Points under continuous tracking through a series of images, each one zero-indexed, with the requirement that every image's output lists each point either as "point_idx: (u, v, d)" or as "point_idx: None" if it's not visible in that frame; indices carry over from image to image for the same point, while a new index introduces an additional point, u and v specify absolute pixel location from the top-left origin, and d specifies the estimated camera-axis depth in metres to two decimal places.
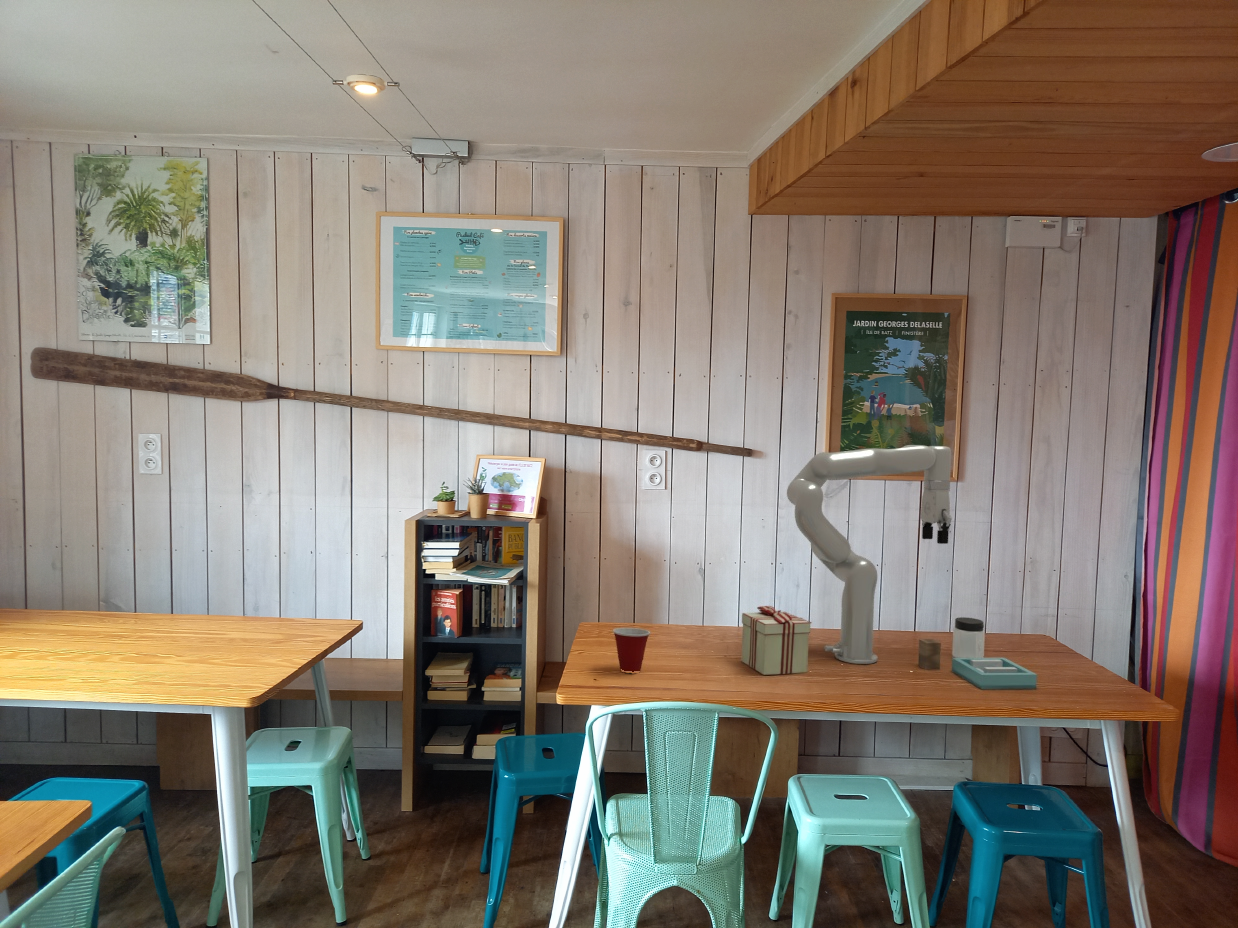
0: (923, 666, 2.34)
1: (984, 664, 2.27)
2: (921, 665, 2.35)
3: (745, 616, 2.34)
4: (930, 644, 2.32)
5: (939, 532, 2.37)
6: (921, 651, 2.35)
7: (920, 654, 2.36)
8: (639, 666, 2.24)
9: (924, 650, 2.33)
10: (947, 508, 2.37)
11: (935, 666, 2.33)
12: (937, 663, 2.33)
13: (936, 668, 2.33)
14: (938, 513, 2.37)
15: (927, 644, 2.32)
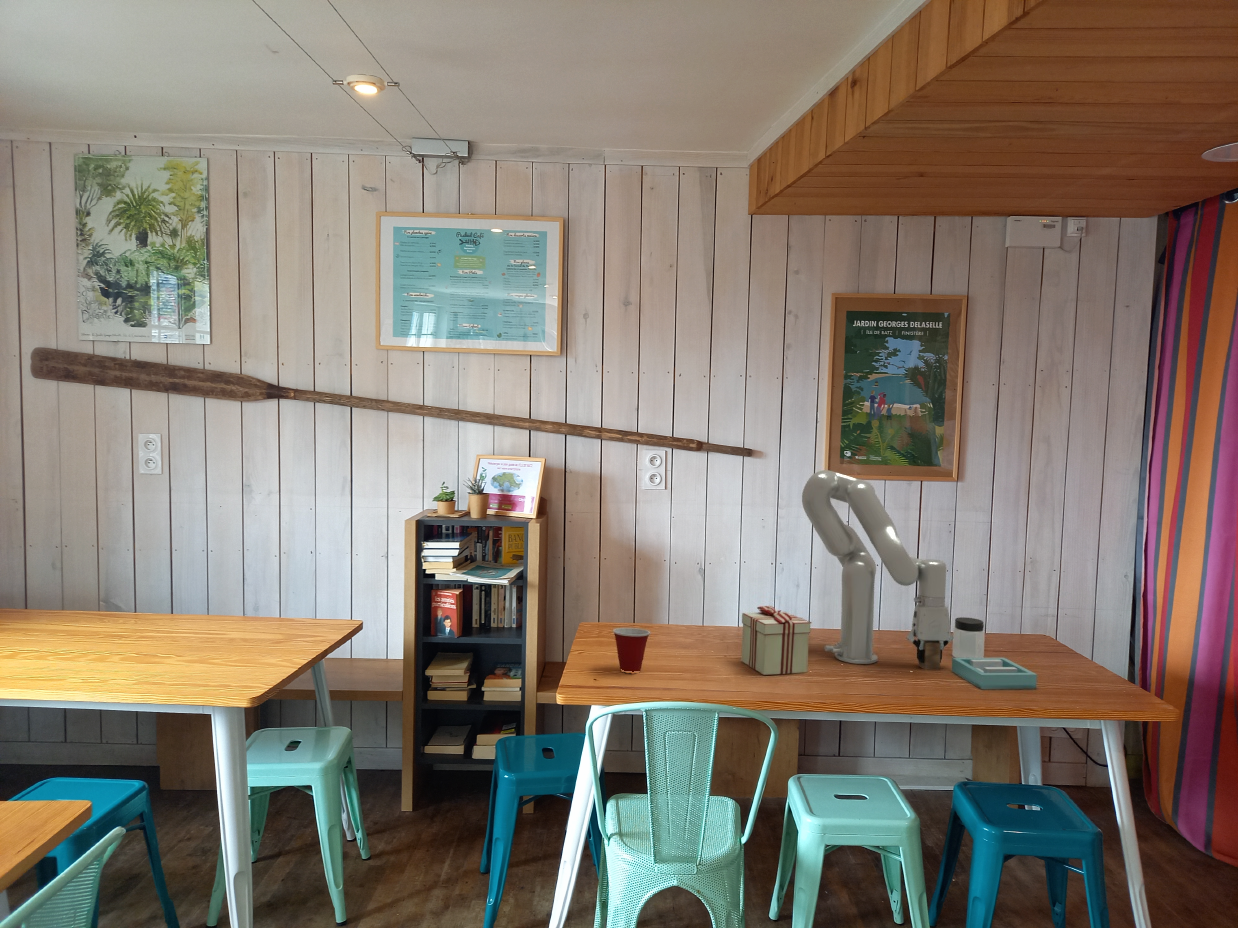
0: (923, 666, 2.34)
1: (984, 664, 2.27)
2: (921, 665, 2.35)
3: (745, 616, 2.34)
4: (930, 644, 2.32)
5: None
6: None
7: None
8: (639, 666, 2.24)
9: None
10: None
11: (935, 666, 2.33)
12: (937, 663, 2.33)
13: (936, 668, 2.33)
14: None
15: (927, 644, 2.32)
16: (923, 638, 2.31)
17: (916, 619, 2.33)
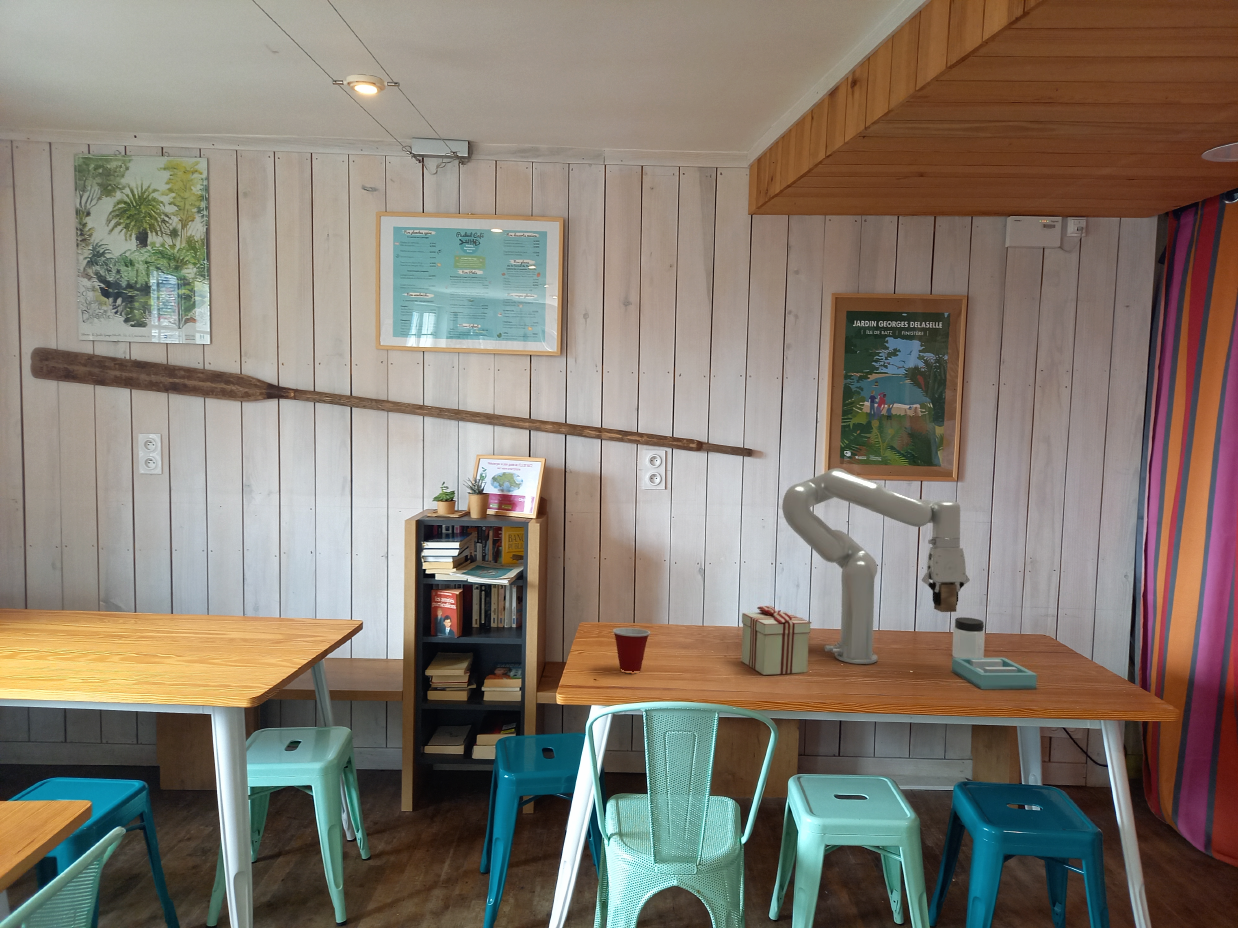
0: (939, 609, 2.30)
1: (984, 664, 2.27)
2: (937, 608, 2.32)
3: (745, 616, 2.34)
4: (946, 586, 2.29)
5: None
6: None
7: None
8: (639, 666, 2.24)
9: None
10: None
11: (951, 609, 2.30)
12: (953, 605, 2.30)
13: (952, 610, 2.30)
14: None
15: (943, 586, 2.29)
16: (939, 580, 2.28)
17: (931, 561, 2.30)
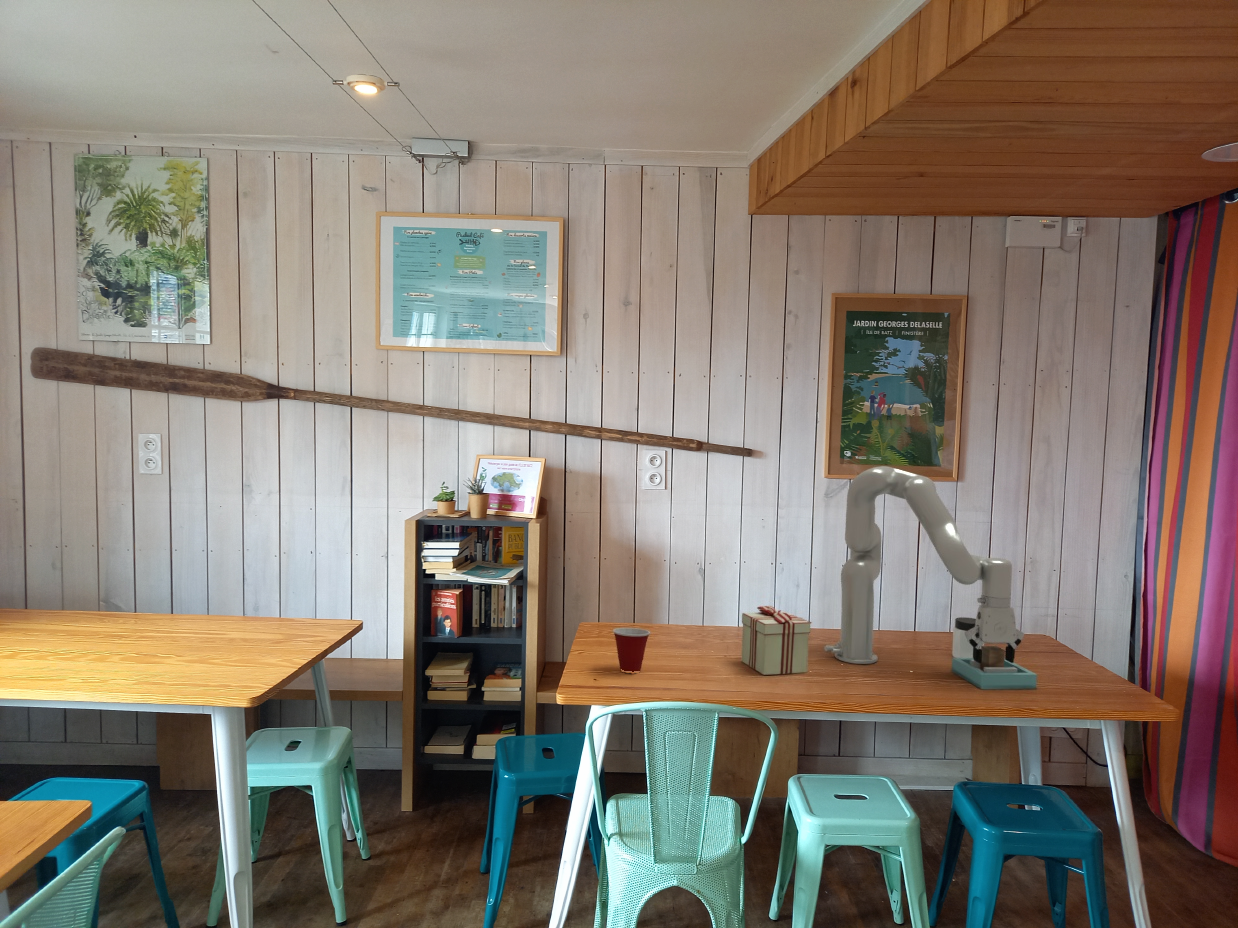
0: None
1: None
2: None
3: (745, 616, 2.34)
4: (994, 651, 2.22)
5: None
6: (984, 659, 2.25)
7: (982, 662, 2.25)
8: (639, 666, 2.24)
9: (987, 658, 2.23)
10: None
11: None
12: None
13: None
14: None
15: (991, 651, 2.22)
16: (988, 641, 2.20)
17: (980, 621, 2.22)
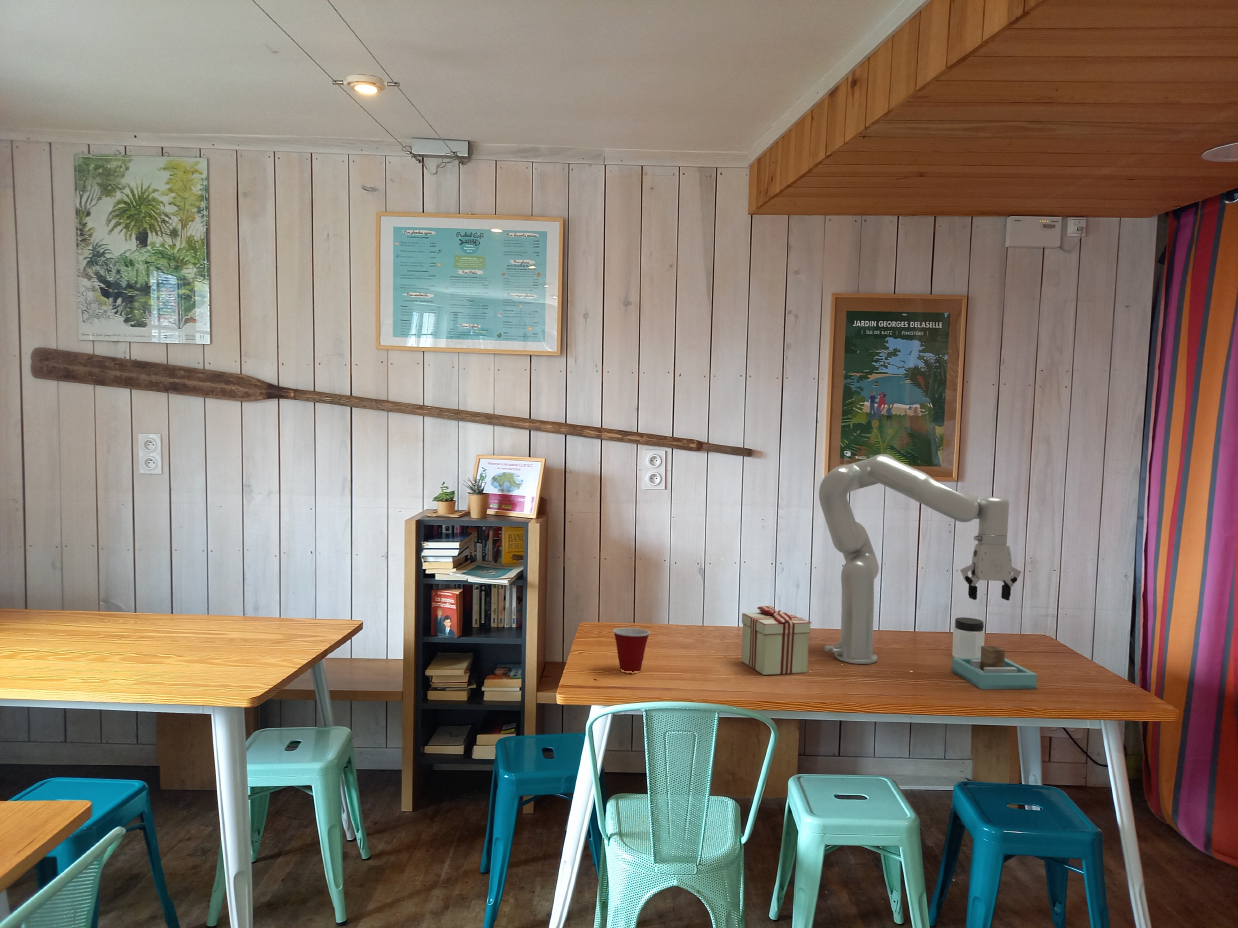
0: None
1: None
2: None
3: (745, 616, 2.34)
4: (994, 651, 2.22)
5: None
6: (984, 659, 2.25)
7: (982, 662, 2.25)
8: (639, 666, 2.24)
9: (987, 658, 2.23)
10: None
11: None
12: None
13: None
14: None
15: (991, 651, 2.22)
16: (983, 578, 2.22)
17: (976, 558, 2.23)
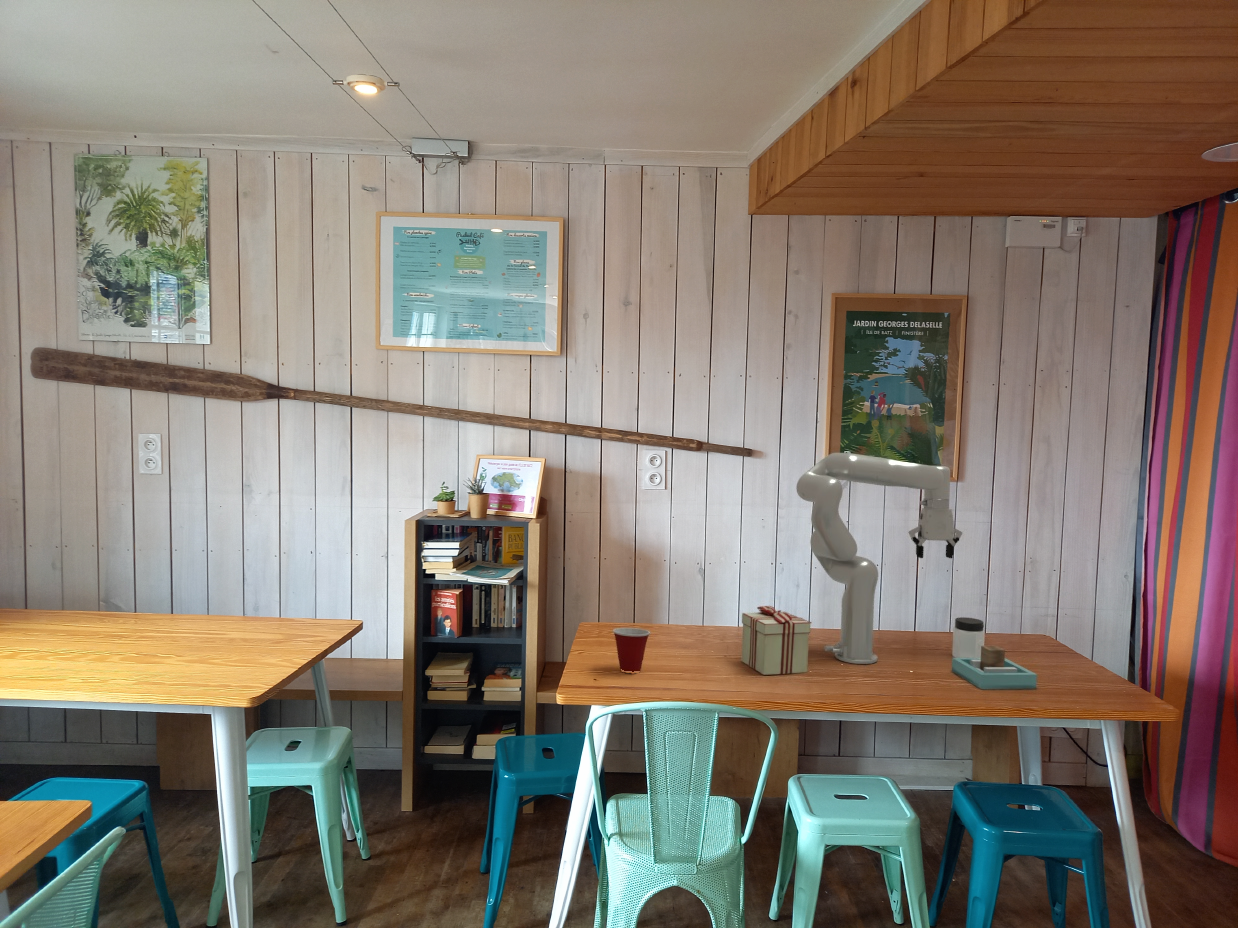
0: None
1: None
2: None
3: (745, 616, 2.34)
4: (994, 651, 2.22)
5: None
6: (984, 659, 2.25)
7: (982, 662, 2.25)
8: (639, 666, 2.24)
9: (987, 658, 2.23)
10: None
11: None
12: None
13: None
14: None
15: (991, 651, 2.22)
16: (929, 538, 2.48)
17: (922, 521, 2.49)
